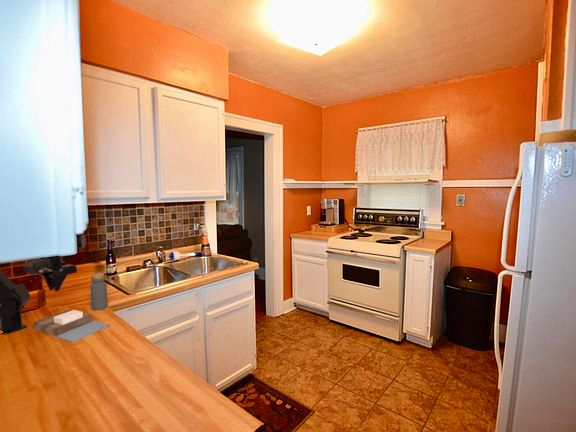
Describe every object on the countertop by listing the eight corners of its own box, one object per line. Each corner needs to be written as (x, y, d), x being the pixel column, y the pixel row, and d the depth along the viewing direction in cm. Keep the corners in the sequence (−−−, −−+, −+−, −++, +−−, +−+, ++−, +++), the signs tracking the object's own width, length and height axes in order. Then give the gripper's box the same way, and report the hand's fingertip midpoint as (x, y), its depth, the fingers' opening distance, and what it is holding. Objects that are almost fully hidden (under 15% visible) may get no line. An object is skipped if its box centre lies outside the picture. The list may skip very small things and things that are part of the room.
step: (34, 329, 107) (34, 321, 106) (69, 316, 118) (69, 309, 117) (58, 336, 102) (57, 328, 101) (92, 322, 113) (92, 315, 112)
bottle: (110, 306, 129) (109, 272, 128) (98, 311, 124) (97, 276, 122) (100, 304, 131) (98, 271, 130) (88, 309, 125) (86, 275, 124)
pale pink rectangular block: (53, 322, 106) (53, 317, 106) (74, 314, 113) (73, 309, 112) (62, 324, 104) (62, 319, 104) (82, 317, 111) (82, 311, 111)
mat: (56, 337, 101) (56, 335, 101) (94, 322, 113) (93, 320, 113) (72, 342, 98) (72, 340, 98) (109, 326, 110) (109, 324, 110)
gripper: (10, 251, 105) (13, 294, 106) (42, 256, 98) (45, 301, 99) (45, 246, 115) (48, 285, 117) (77, 250, 108) (79, 291, 110)
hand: (54, 290), depth 110 cm, fingers open, 3 cm apart
